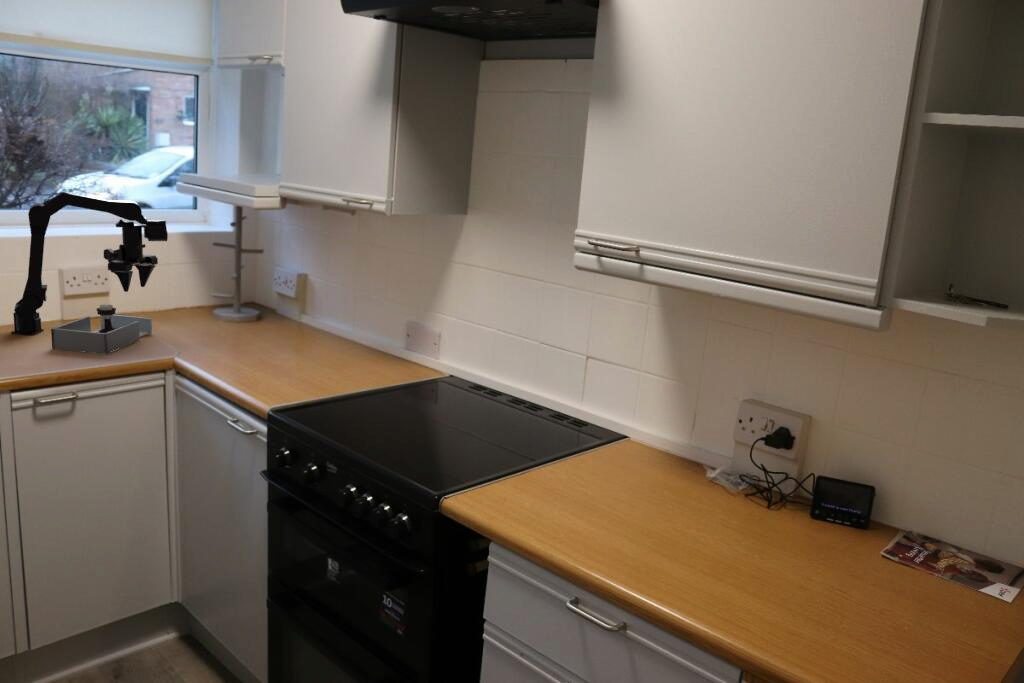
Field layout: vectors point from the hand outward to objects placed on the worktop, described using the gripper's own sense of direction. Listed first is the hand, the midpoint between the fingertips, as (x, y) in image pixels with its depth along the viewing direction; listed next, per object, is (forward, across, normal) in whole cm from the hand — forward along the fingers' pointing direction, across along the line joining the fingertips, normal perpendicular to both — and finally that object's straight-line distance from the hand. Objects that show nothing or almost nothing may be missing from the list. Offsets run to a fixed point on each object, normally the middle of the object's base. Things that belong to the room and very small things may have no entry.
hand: (134, 289), depth 262 cm
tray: (+13, +13, 0) cm, 19 cm away
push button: (+12, +17, +1) cm, 21 cm away
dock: (+13, +22, +1) cm, 25 cm away
